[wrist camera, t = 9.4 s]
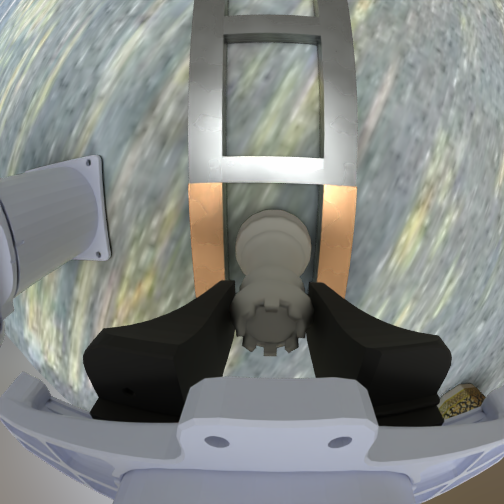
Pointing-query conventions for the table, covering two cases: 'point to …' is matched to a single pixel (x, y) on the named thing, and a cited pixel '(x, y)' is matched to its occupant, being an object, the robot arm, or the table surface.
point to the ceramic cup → (460, 400)
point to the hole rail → (262, 167)
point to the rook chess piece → (272, 282)
